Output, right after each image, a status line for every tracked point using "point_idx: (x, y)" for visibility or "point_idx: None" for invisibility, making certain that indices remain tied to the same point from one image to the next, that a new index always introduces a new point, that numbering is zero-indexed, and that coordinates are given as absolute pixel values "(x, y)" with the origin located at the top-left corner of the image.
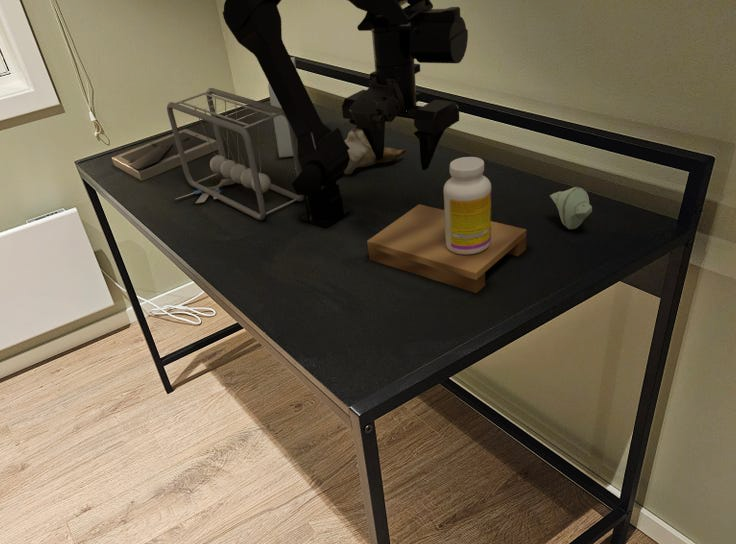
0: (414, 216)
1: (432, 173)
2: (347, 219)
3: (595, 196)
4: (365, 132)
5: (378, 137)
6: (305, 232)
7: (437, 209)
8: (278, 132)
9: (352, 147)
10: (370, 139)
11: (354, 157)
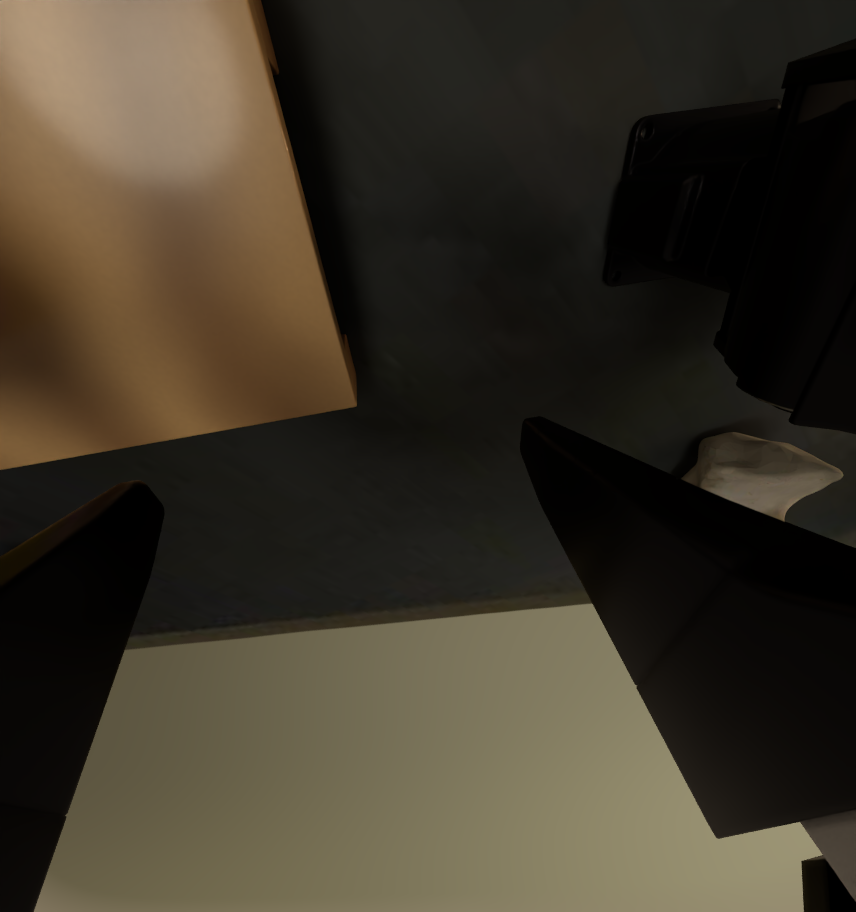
0: (285, 330)
1: (510, 536)
2: (586, 245)
3: (171, 628)
4: (788, 541)
5: (609, 554)
6: (716, 11)
7: (271, 415)
8: None
9: (747, 500)
10: (665, 499)
11: (720, 478)
